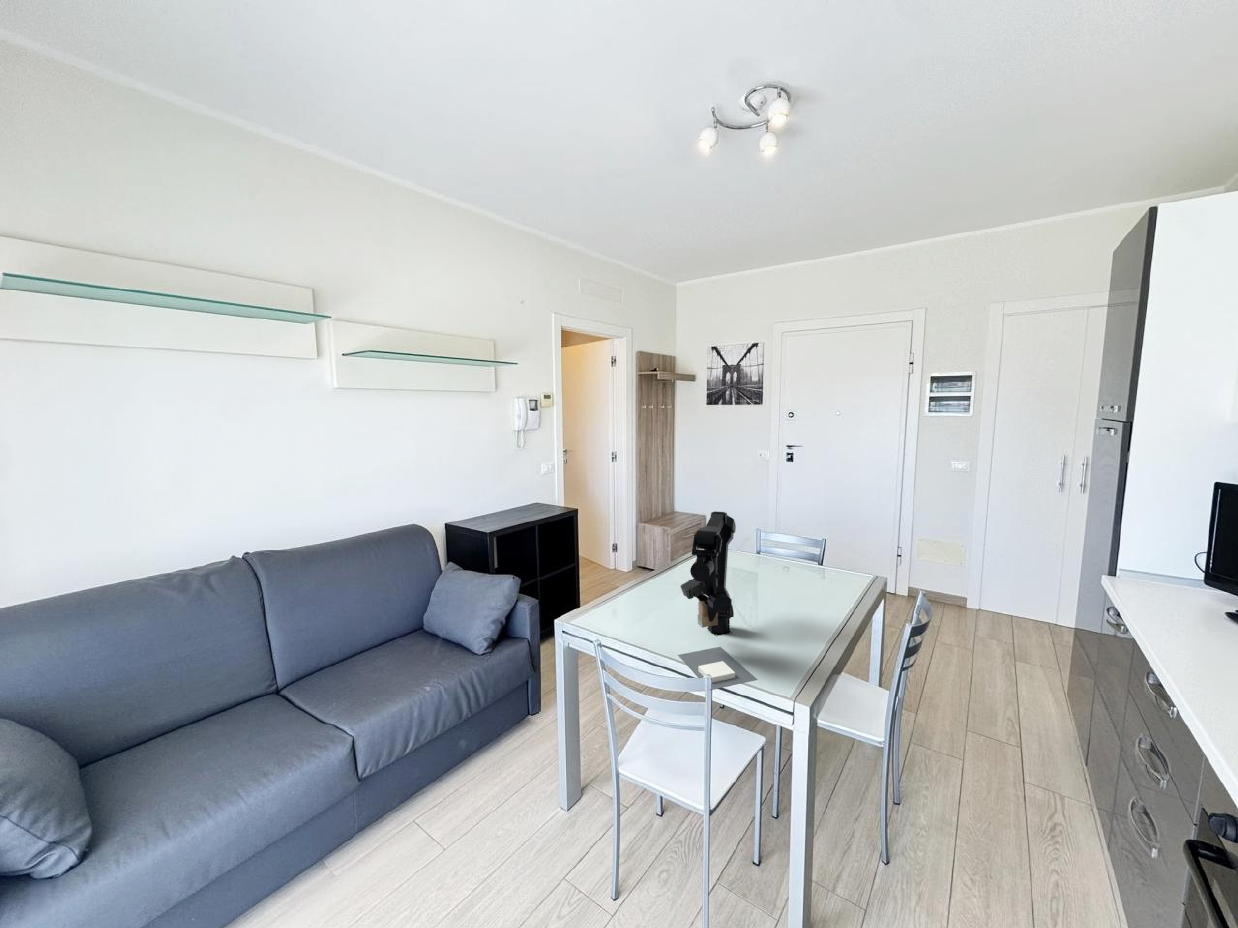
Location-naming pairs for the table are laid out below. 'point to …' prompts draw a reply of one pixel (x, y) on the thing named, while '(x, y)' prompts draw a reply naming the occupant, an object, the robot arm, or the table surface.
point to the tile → (717, 671)
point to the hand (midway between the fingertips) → (708, 619)
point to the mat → (712, 657)
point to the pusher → (705, 616)
